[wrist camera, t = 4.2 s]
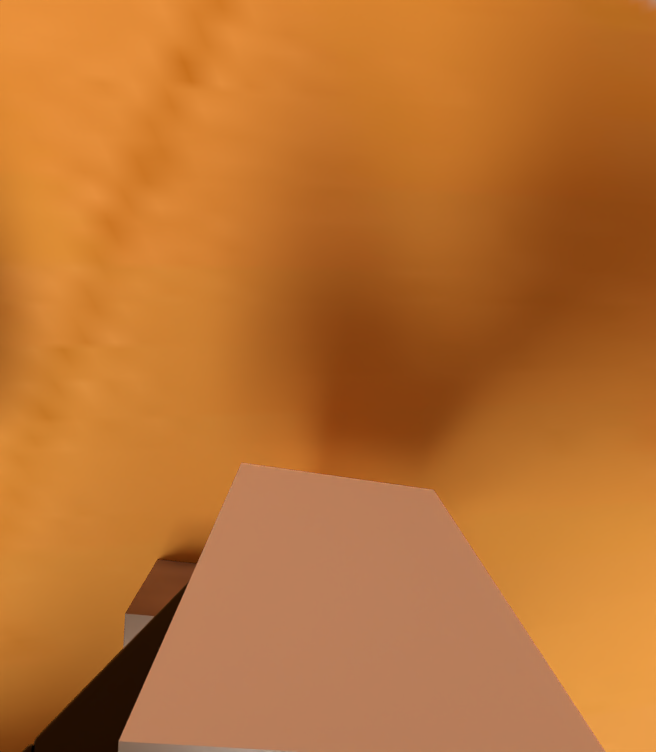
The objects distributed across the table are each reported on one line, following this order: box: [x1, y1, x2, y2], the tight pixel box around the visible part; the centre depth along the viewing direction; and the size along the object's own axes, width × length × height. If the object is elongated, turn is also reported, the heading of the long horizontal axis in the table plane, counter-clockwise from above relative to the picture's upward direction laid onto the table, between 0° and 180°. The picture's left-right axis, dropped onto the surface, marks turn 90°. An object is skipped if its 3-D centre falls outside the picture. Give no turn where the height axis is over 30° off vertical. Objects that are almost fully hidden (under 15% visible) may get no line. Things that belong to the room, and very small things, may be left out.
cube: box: [118, 463, 605, 752], centre depth 6 cm, size 5×5×5 cm
